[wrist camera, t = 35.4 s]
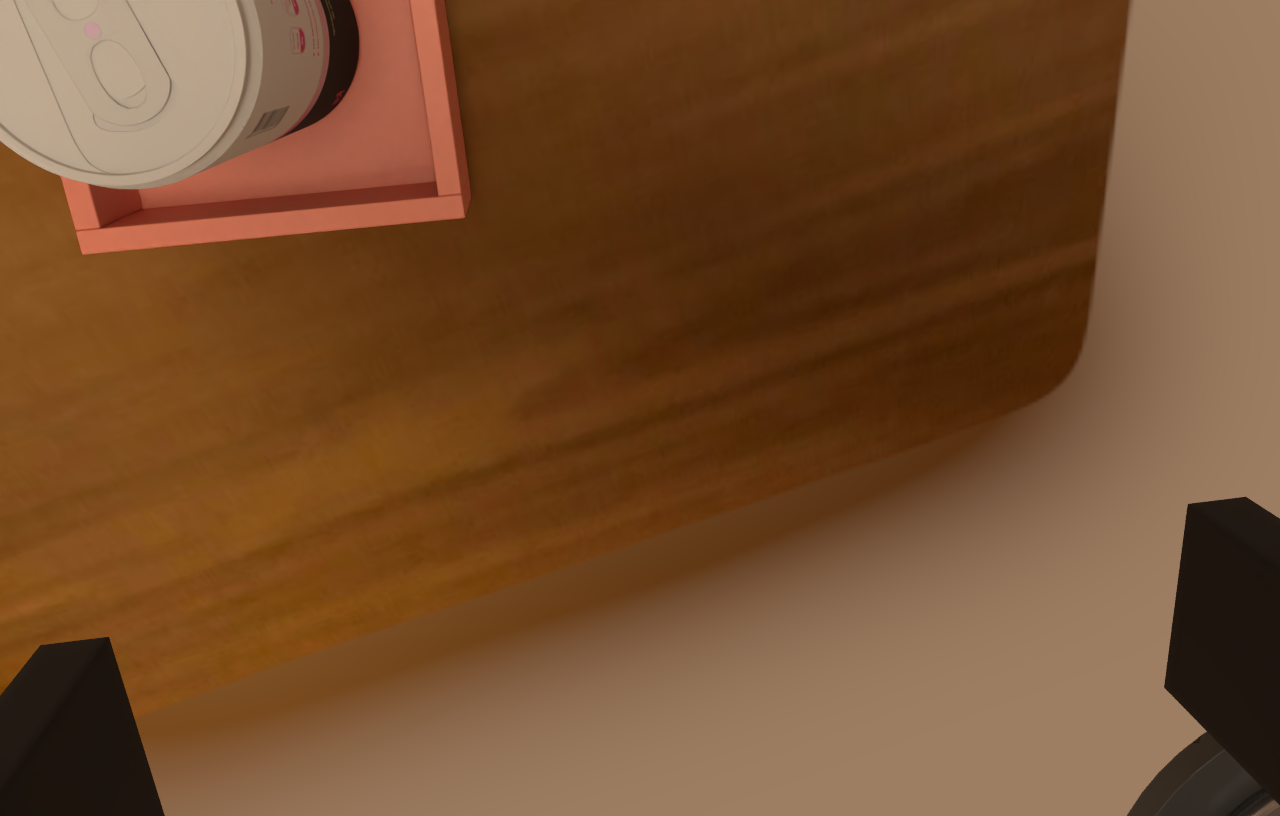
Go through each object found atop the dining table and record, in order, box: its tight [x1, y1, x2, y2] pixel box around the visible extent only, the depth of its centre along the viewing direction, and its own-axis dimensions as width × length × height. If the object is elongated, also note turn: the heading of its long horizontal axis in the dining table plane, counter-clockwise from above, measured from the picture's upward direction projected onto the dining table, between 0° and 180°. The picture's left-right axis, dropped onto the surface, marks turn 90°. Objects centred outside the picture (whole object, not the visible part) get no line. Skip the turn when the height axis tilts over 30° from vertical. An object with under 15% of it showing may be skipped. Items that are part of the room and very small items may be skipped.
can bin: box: [61, 0, 471, 255], centre depth 33 cm, size 13×13×4 cm
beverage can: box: [0, 0, 359, 189], centre depth 28 cm, size 7×6×15 cm
